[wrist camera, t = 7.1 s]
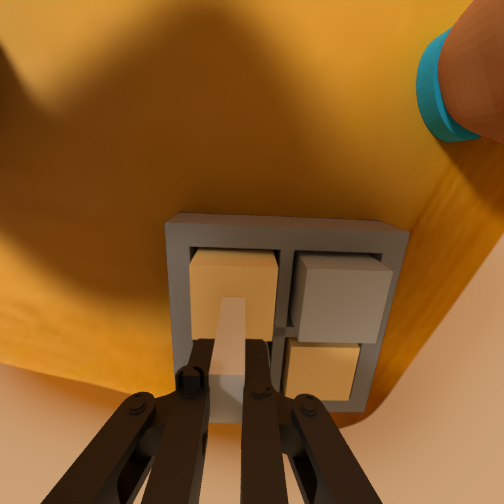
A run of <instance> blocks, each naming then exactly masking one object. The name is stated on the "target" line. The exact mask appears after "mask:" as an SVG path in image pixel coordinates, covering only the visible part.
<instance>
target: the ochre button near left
mask: <svg viewBox="0 0 504 504" xmlns="http://www.w3.org/2000/svg"><path fill="white" fill-rule="evenodd" d="M189 274H190V302H191V329H192V340H198V339H199V338H207V339H215V337H216V331H217V326H218V320H219V315H220V309H221V303H222V298H223V297H240V298H245V339H263V341H272V335H273V324H274V312H275V300H276V289H277V277H278V265H277V262H276V259H275V256H274V253H273V250H272V249H247V248H219V247H199V249H198V250H197V252H196V254H195V255H194V257H193V259H192V261H191V262H190V264H189Z"/></svg>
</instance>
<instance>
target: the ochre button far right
mask: <svg viewBox="0 0 504 504" xmlns="http://www.w3.org/2000/svg"><path fill="white" fill-rule="evenodd" d="M359 351H360V347H359V346H358V344H357V343H328V342H298V340H297V337H285V341H284V351H283V360H282V370H281V379H282V385H283V391H284V396H285V397H288V398H292V399H294V398H295V397H296V396H297V395H300V394H311V395H314V396H315V397H317V398H318V399H320V400H337V401H348V400H349V396H350V391H351V387H352V382H353V378H354V373H355V369H356V364H357V360H358V355H359Z"/></svg>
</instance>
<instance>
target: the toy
mask: <svg viewBox="0 0 504 504" xmlns="http://www.w3.org/2000/svg"><path fill="white" fill-rule="evenodd" d="M416 91H417V100H418V105H419V109H420V113H421V115H422V118H423V120H424V122H425V124H426V126H427V128H428V129H429V130H430V132H431V133H432V134H433V135H434V136H435V137H437V138H438V139H440V140H442V141H445V142H458V141H466V140H474V139H477V138H479V137H481V136H483V137H486V138H488V139H490V140H493V141H495V142H498V143H501V144H504V0H474V1H473V2H472V3H471V4H470V6H469V7H468V8H467V9H466V10H465V11H464V13H463V14H462V15H461V16H460V18H459V19H458V20H457V22H456V23H455V24H454V26H453V27H452V28H450V29H449V30H447V31H446V32H445V33H443V34H442V35H440V36H439V37H437V38H436V39H434V40H433V41H432V42H431V43H430V44H429V45H428V46H427V48H426V49H425V51H424V53H423V55H422V57H421V60H420V63H419V67H418V72H417V81H416Z"/></svg>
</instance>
